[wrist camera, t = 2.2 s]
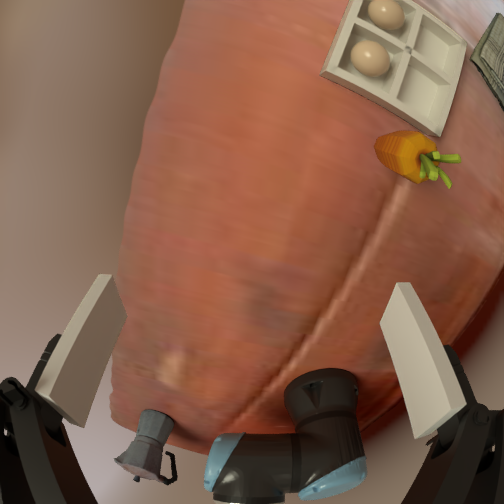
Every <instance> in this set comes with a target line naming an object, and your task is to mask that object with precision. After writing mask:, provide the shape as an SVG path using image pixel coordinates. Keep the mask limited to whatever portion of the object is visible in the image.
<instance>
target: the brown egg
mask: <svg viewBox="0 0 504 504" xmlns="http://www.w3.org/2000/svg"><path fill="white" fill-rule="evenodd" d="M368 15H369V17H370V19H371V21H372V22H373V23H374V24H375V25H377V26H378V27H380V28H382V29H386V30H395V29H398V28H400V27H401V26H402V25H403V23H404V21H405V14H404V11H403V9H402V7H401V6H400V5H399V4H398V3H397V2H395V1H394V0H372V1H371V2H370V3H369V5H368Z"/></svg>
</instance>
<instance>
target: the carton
mask: <svg viewBox="0 0 504 504" xmlns="http://www.w3.org/2000/svg"><path fill="white" fill-rule="evenodd" d="M371 1H372V0H349V2H348V5H347V7H346V10H345V12H344V15H343V17H342V20H341V22H340V25H339V27H338V30H337V32H336V35H335V37H334V40H333V42H332V45H331V47H330V50H329V52H328V55H327V57H326V60H325V62H324V65H323V67H322V70H321V72H320V75H319V76H322V77H324V78H326V79H328V80H331V81H333V82H335V83H337V84H339V85H341V86H344V87H346V88H348V89H350V90H352V91H354V92H356V93H358V94H360V95H362V96H363V97H365V98H367V99H369V100H371V101H373V102H375V103H376V104H378V105H380V106H382V107H383V108H385V109H387V110H389V111H390V112H392V113H394V114H395V115H397V116H399V117H400V118H402V119H403V120H405V121H407V122H408V123H410V124H411V125H413V126H414V127H416V128H417V129H419V130H420V131H422V132H423V133H425V134H426V135H432V136H437V137H441V134H442V131H443V128H444V125H445V123H446V120H447V117H448V114H449V111H450V107H451V104H452V101H453V98H454V94H455V91H456V87H457V84H458V80H459V76H460V73H461V69H462V65H463V60H464V56H465V51H466V47H467V42H466V41H465V40H464V39H462V38H461V37H460V36H459V35H458V34H457V33H455V32H454V31H453V30H452V29H451V28H449V27H448V26H447V25H445V24H444V23H443V22H442V21H440V20H439V19H438V18H436V17H435V16H434V15H432V14H431V13H429V12H428V11H427V10H425V9H424V8H422V7H421V6H419V5H418V4H416V3H415V2H413V1H412V0H394V1H395V2H397V3H398V4H399V5H400V6H401V7H402V9H403V11H404V14H405V21H404V23H403V25H402V26H401V27H400V28H398V29H395V30H386V29H382V28H380V27H378V26H377V25H375V24H374V23H373V22H372V21H371V19H370V17H369V15H368V5H369V3H370V2H371ZM364 40H371V41H375V42H377V43H379V44H381V45H382V46H383V47H384V48H385V49H386V50H387V52H388V54H389V56H390V66H389V69H388V70H387V71H386V73H384V74H383V75H381V76H378V77H369V76H366V75H363V74H362V73H360V72H359V71H357V70H356V68H355V67H354V66H353V64H352V62H351V50H352V48H353V47H354V45H355V44H357V43H358V42H360V41H364Z"/></svg>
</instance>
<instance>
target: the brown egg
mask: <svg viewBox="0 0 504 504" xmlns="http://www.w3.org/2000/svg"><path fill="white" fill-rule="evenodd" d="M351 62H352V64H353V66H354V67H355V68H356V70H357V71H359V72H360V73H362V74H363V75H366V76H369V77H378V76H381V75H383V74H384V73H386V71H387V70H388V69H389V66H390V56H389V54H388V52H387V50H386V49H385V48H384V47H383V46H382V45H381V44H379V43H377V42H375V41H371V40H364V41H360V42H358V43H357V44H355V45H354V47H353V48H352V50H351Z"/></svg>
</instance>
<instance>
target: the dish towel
mask: <svg viewBox="0 0 504 504" xmlns="http://www.w3.org/2000/svg"><path fill="white" fill-rule="evenodd" d="M472 60H473V62H474V64H475V65H476V66H477V68H478V69H477V70H478V71H479V72H480V73H481V74H482V76H483V78H484V80H485V81H486V83H487V85H488V87H489V88H490V90H491V91H492V93H493V94H494V96H495V97H496V96H497V98H498V101H500V103H499V104H500V106H501V108H502V110H503V111H504V17H503V15H502V14H501V13H496V15H495V17H494V18H493V20H492V22H491V23H490V25H489V26H488V28H487V29H486V31H485V33H484V34H483V36H482V38H481V39H480V41H479V43H478V44H477V46H476V47H475V49H474V52H473V54H472V55H471V57H470V61H472Z"/></svg>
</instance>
